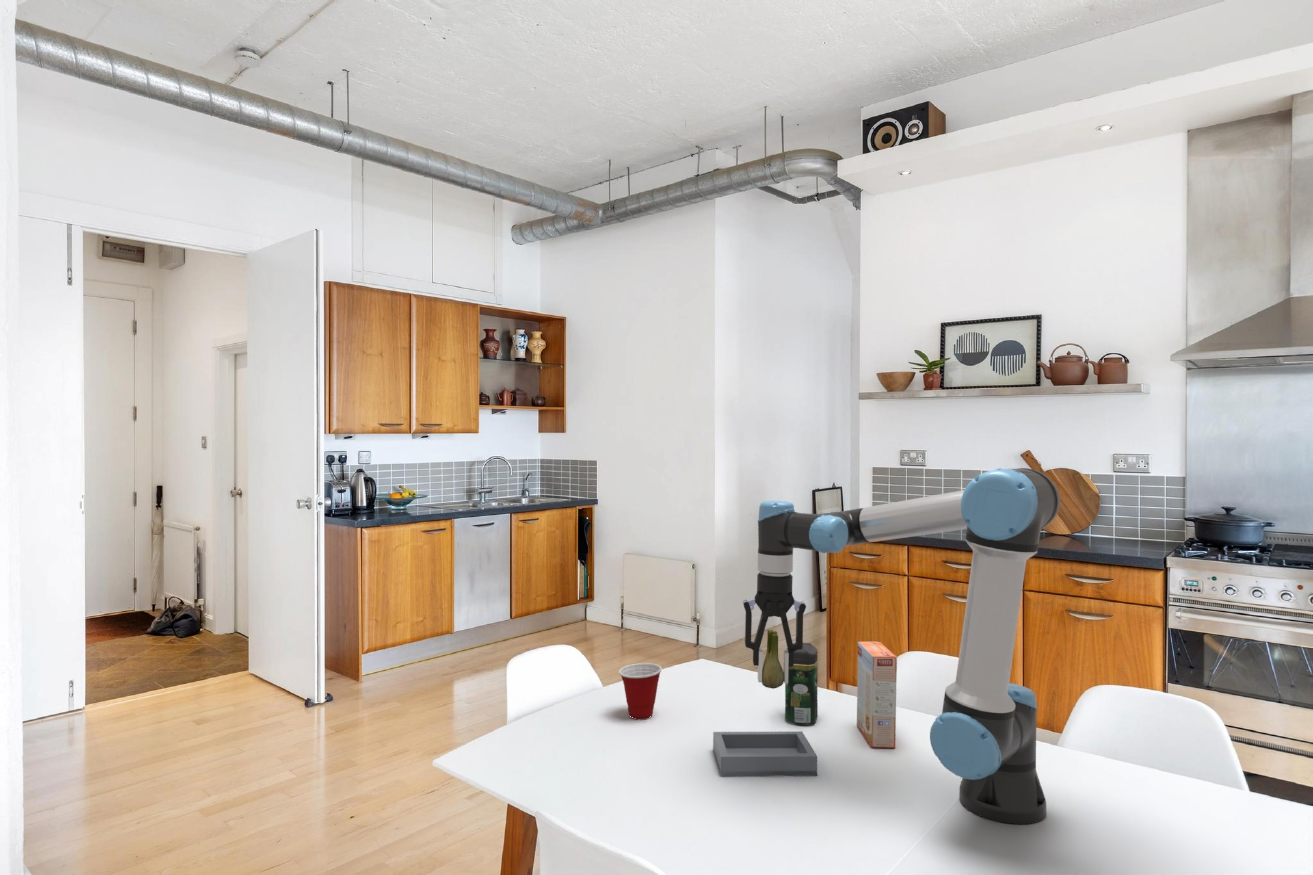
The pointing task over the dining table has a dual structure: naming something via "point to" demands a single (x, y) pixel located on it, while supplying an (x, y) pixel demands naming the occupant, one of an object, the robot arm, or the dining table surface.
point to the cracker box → (876, 694)
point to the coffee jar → (802, 687)
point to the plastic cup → (640, 688)
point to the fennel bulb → (772, 663)
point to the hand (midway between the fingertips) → (772, 680)
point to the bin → (764, 754)
